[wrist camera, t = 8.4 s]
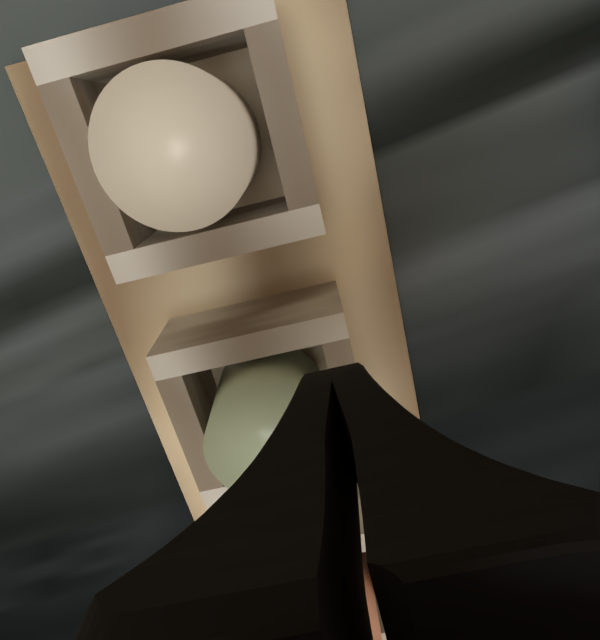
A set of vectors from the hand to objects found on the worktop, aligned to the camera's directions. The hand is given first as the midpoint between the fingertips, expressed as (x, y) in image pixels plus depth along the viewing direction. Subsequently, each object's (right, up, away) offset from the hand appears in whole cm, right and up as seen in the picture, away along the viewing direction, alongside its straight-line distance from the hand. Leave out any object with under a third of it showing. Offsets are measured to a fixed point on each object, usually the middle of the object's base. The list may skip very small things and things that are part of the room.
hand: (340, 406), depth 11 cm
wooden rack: (-2, 0, +11) cm, 12 cm away
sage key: (-2, -1, +10) cm, 10 cm away
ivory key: (-4, +8, +6) cm, 11 cm away
